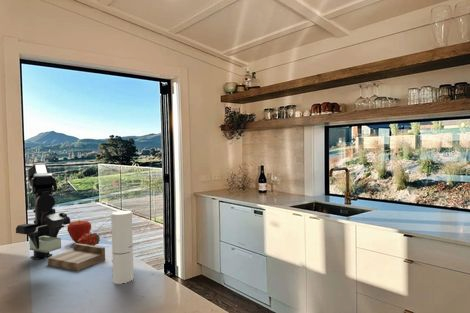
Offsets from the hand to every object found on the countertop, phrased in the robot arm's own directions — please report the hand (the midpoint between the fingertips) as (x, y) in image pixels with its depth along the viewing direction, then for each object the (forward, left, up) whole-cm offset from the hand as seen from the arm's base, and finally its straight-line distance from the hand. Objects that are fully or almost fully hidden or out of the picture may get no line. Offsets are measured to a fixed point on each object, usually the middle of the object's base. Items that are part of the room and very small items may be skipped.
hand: (45, 246), depth 125 cm
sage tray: (0, 0, -1) cm, 1 cm away
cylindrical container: (+33, +7, -11) cm, 36 cm away
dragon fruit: (-12, +30, -11) cm, 34 cm away
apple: (-25, +36, -11) cm, 45 cm away
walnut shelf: (0, +14, -11) cm, 18 cm away
